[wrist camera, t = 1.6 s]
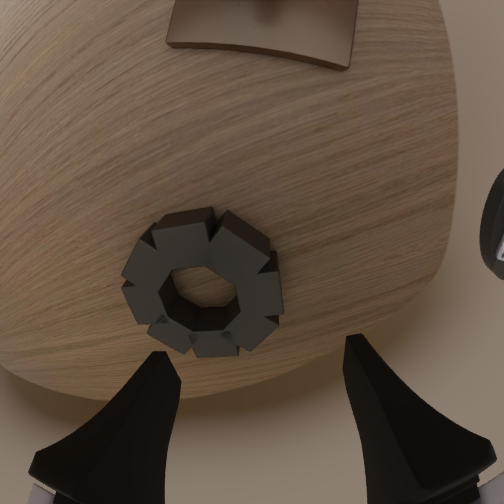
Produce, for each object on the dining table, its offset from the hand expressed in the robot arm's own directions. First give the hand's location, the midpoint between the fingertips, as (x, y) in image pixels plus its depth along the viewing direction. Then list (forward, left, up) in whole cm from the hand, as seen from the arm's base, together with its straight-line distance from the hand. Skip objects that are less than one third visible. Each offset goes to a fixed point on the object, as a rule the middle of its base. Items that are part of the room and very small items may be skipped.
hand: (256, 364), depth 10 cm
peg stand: (+2, -17, -7) cm, 18 cm away
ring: (+3, +1, -7) cm, 8 cm away
